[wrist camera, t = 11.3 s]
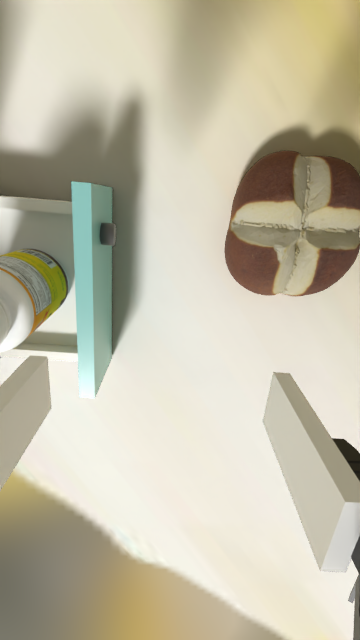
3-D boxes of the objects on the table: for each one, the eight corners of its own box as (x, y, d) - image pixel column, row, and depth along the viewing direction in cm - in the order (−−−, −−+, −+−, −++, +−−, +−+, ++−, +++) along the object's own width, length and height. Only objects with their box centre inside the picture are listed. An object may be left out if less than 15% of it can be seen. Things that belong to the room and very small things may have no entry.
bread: (211, 280, 29) (218, 295, 24) (244, 142, 25) (259, 128, 20) (326, 302, 30) (353, 321, 25) (375, 172, 26) (419, 165, 21)
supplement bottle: (18, 317, 27) (-68, 380, 18) (-7, 254, 25) (-119, 286, 16) (80, 306, 27) (27, 363, 17) (59, 240, 25) (-14, 265, 15)
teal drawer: (-64, 172, 25) (-146, 162, 19) (123, 188, 26) (105, 184, 19) (-33, 348, 31) (-88, 386, 24) (120, 358, 31) (106, 399, 25)
